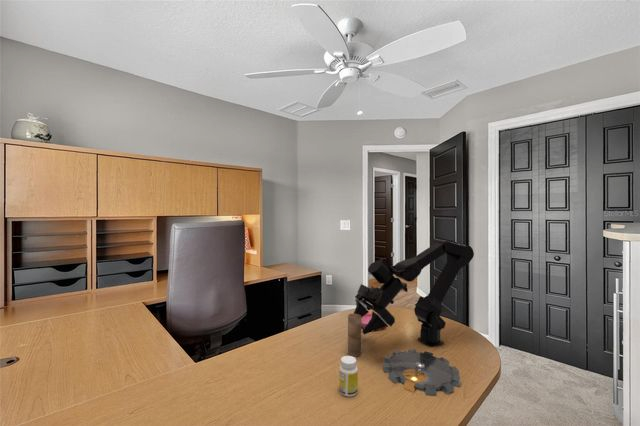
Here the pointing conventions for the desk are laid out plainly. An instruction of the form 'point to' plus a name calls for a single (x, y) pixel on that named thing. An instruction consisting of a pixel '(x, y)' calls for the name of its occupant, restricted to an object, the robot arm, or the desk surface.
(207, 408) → the desk surface
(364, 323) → the saucer
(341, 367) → the supplement bottle
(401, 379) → the sprocket plate
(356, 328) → the pin
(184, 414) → the desk surface
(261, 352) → the desk surface
